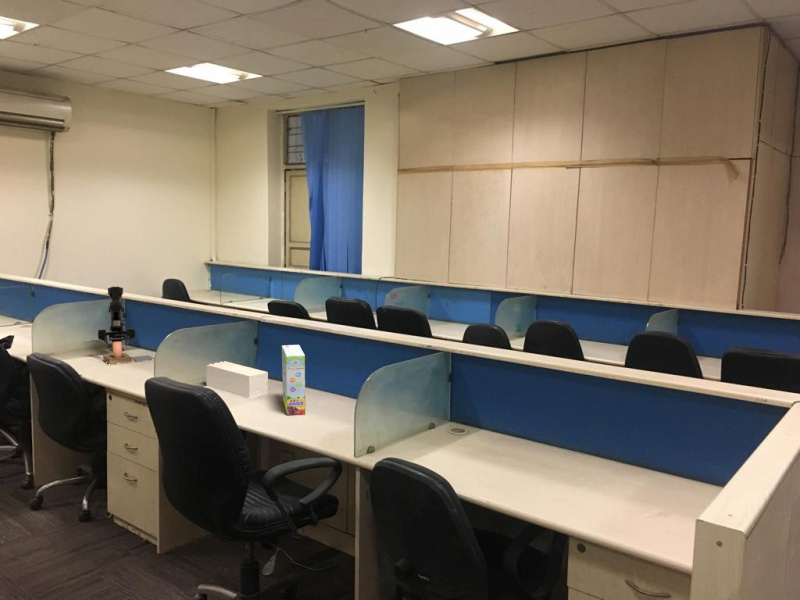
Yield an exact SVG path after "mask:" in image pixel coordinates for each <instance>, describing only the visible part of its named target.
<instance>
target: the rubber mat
mask: <svg viewBox="0 0 800 600" xmlns="http://www.w3.org/2000/svg"><path fill="white" fill-rule="evenodd" d="M131 357H132V359H133V360H135V361H140V362H144V361H143V360H149V361H153V360H152V359H154V360H155V358H154V357H153V356H150V355H148V354H146V355H137V356H131ZM133 360H132V361H133ZM135 361H134V362H135Z"/></svg>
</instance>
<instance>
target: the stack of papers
mask: <svg viewBox="0 0 800 600" xmlns="http://www.w3.org/2000/svg"><path fill="white" fill-rule="evenodd" d="M223 361H224V362H223ZM223 361H218V362H219V363H218V362H214V364H212V363H208V364H209V365H207V364H206V365H207V366H206V367H207V368H206V369H207V370H206V371H207V372H206V373H207V374H206V375H207V376H206V377H207V378H206V379H205V380H206V381H205V383H206V385H207V386H206V387H208V388H211V387H212V388H213V389H214V390H218V391H221V392H225V391H226V392H225V393H228V392H229V394H231V393H232V395H235V394H236V395H235V396H238V395H239V396H238V397H241V396H242V397H241V398H245V399H248V398H249V399H248V400H251V399H254V397H255V398H258V396H259V397H261V395H263V396H266V395H265V394H267V395H268V394H269V388H268V387H269V384H268V383H269V380H268V378H269V375H268V371H265V370H261V369H257V368H253V367H248V366H245V365H242V364H237V363H234V362H230V361H226V360H223ZM250 398H251V399H250Z"/></svg>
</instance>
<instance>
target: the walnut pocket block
mask: <svg viewBox="0 0 800 600" xmlns="http://www.w3.org/2000/svg"><path fill="white" fill-rule="evenodd" d="M102 356H103V357H102V359H103V362H104V361H105V362H104V363H106V362H107V363H108V365H109V364H114V365H118V364H117V363H123V364H127V363H126V362H131V363H132V362H133V360H132V357H133V356H130V355H128V353H126V352H125V353H122V357H119V358H113V354H108V355H102ZM107 363H106V364H107Z"/></svg>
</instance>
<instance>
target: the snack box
mask: <svg viewBox="0 0 800 600" xmlns="http://www.w3.org/2000/svg"><path fill="white" fill-rule="evenodd" d="M281 362H282V364H281V365H282V369H281V371H282V372H281V373H282V401H283V405H284V409H285V412H286V413H285V414H286V416H303V415H304V416H305V415H306V355H305V353H304V351H303V350H302V348H301V346H300V344H287V345H286V344H285V345H281Z"/></svg>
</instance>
